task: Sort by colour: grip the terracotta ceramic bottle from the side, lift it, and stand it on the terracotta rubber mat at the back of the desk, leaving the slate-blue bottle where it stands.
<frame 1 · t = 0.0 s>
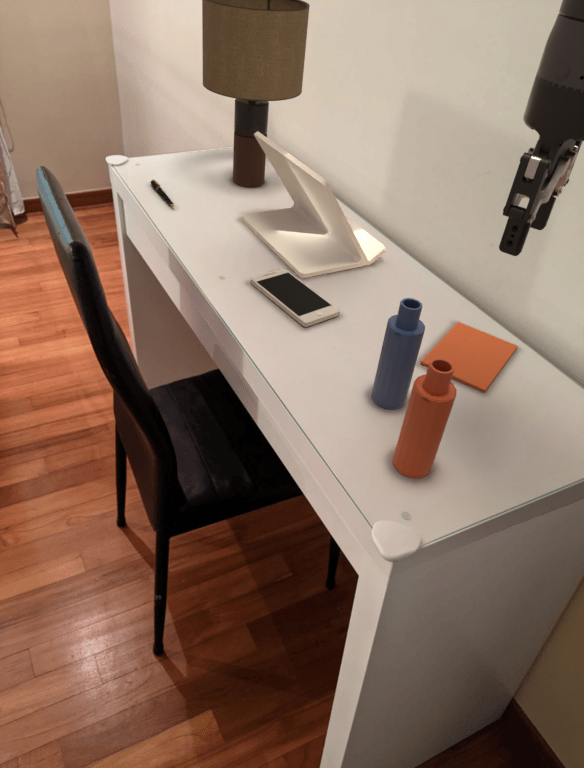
hand: (522, 239, 66), 25 cm above the table, tool pointing down, fingers open, 8 cm apart
terracotta bottle: (411, 463, 73), on the table
smartphone: (293, 299, 100), on the table
lamp: (248, 182, 137), on the table
terracotta mat: (469, 356, 92), on the table
tablet stand: (310, 240, 118), on the table
fountain pen: (162, 197, 127), on the table
blue bottle: (388, 398, 83), on the table
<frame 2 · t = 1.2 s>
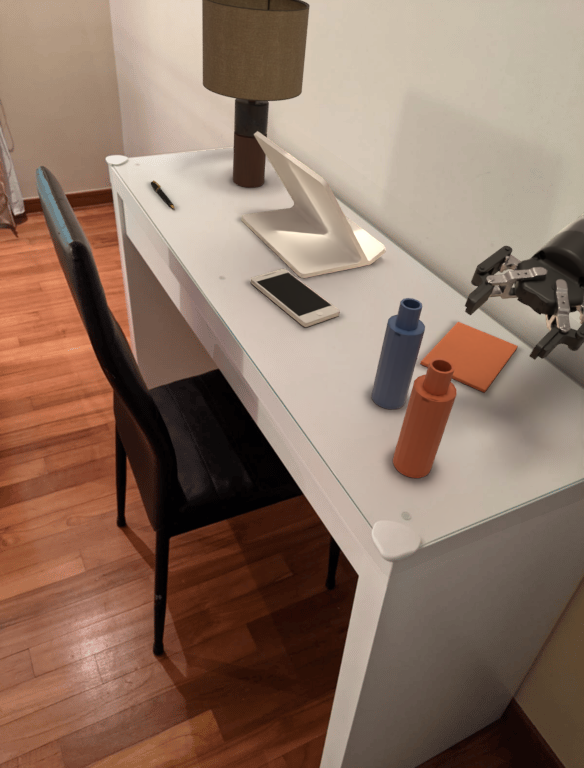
hand: (501, 330, 66), 17 cm above the table, tool horizontal, fingers open, 8 cm apart
nothing on the table moved.
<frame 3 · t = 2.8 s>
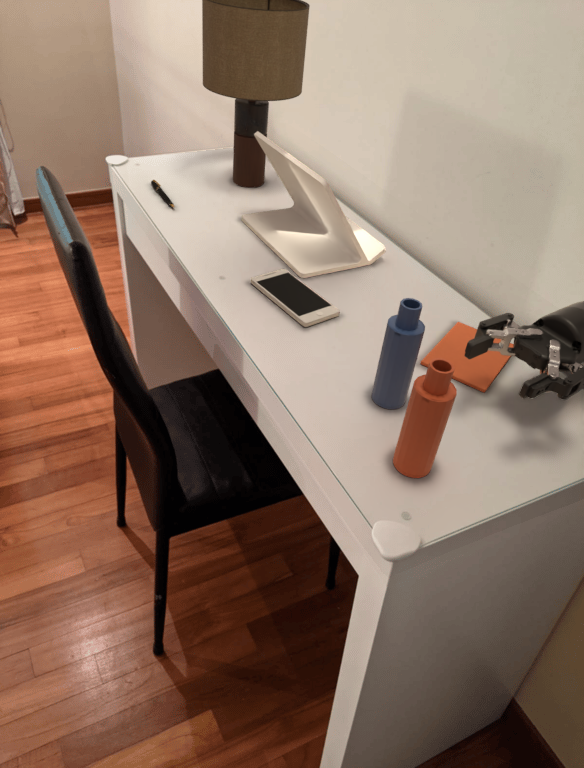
hand: (494, 371, 73), 10 cm above the table, tool horizontal, fingers open, 8 cm apart
nothing on the table moved.
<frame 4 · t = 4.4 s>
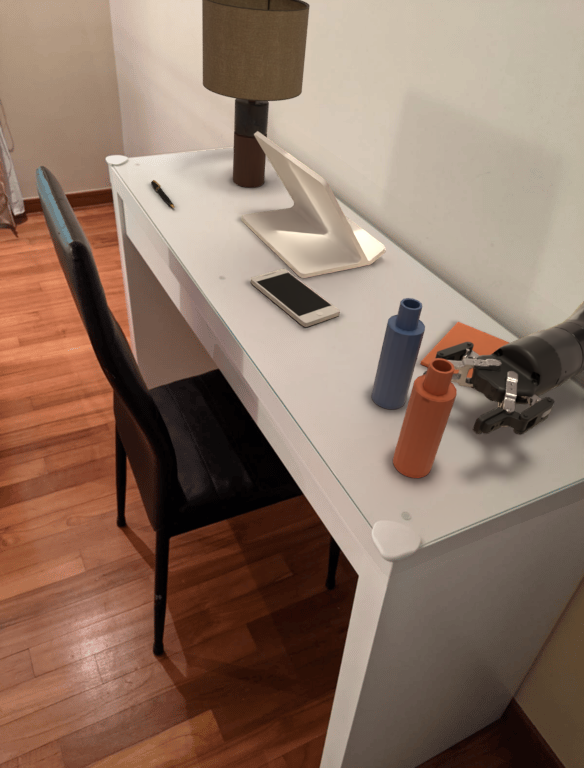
hand: (449, 404, 70), 8 cm above the table, tool horizontal, fingers open, 8 cm apart
nothing on the table moved.
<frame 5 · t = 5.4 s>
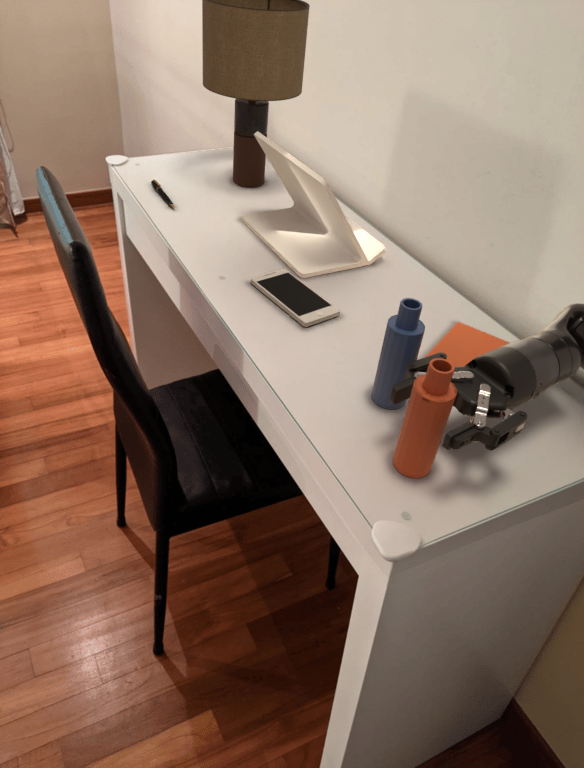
hand: (418, 418, 68), 8 cm above the table, tool horizontal, fingers open, 8 cm apart
nothing on the table moved.
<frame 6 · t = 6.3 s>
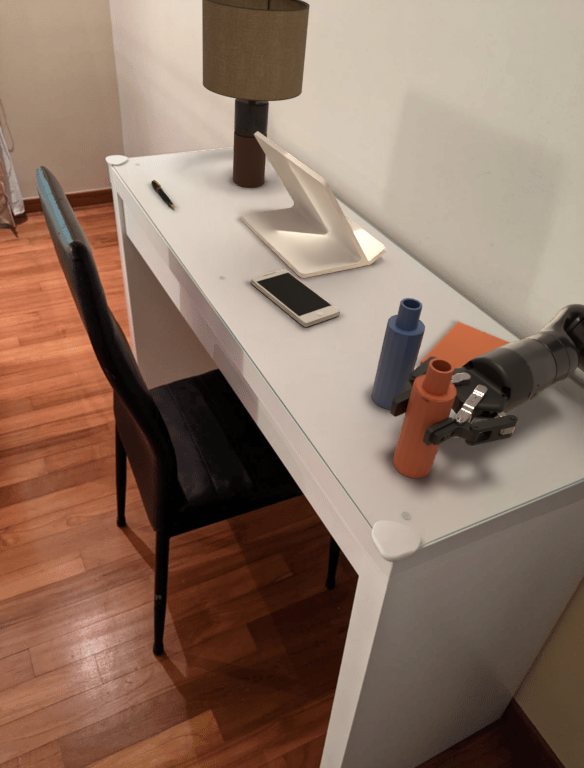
hand: (409, 423, 67), 8 cm above the table, tool horizontal, fingers closed on terracotta bottle, 4 cm apart
terracotta bottle: (411, 463, 73), on the table, touching gripper
everything else where it was.
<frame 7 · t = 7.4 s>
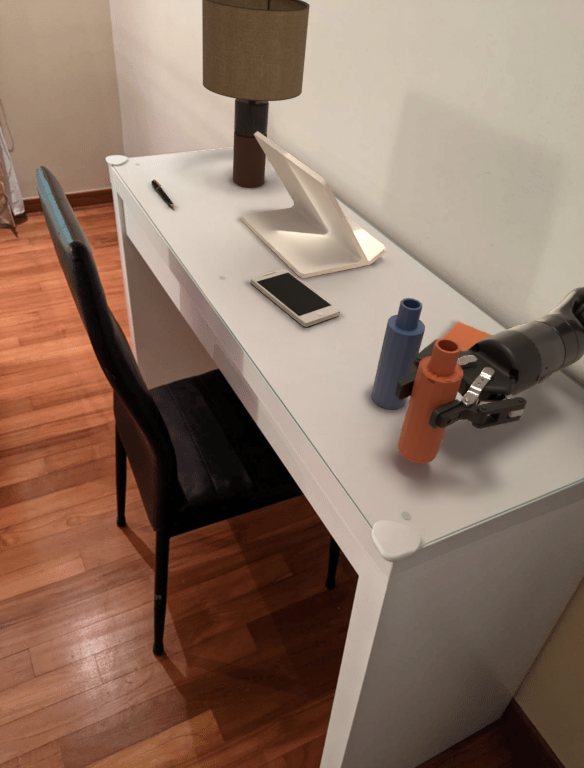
hand: (415, 405, 65), 11 cm above the table, tool horizontal, fingers closed on terracotta bottle, 4 cm apart
terracotta bottle: (417, 449, 72), point 3 cm above the table, touching gripper
everything else where it was.
when the fingers open (9 cm above the table, at t = 21.5 s): terracotta bottle stays where it is, resting on terracotta mat.
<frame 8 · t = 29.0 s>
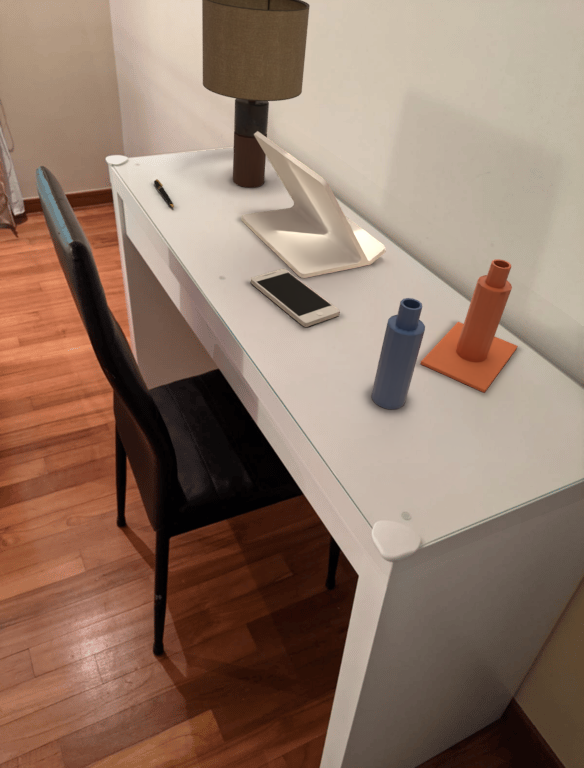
terracotta bottle: (471, 353, 92), resting on terracotta mat
everything else where it was.
at the end: terracotta bottle inside the target area on the terracotta mat (0.1 cm from its centre), point 0.5 cm above the terracotta mat's base; terracotta bottle tilted 0°; blue bottle moved 0.0 cm from its start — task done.
